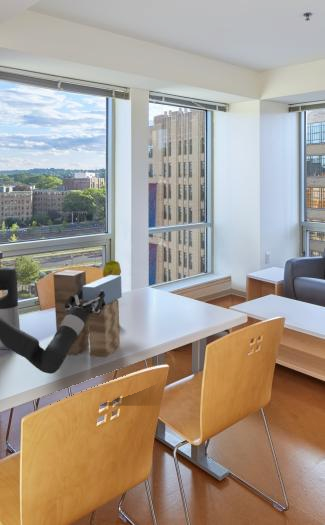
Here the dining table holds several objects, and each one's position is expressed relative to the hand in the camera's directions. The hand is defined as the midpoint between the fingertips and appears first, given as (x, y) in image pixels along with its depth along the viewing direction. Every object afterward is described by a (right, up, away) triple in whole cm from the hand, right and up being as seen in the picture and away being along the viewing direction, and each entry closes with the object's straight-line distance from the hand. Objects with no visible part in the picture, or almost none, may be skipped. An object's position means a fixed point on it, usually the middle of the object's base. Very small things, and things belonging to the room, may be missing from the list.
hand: (93, 291), depth 177 cm
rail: (+3, -5, +9) cm, 11 cm away
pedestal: (-10, -25, +14) cm, 30 cm away
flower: (+3, -19, +49) cm, 52 cm away
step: (+3, -25, +13) cm, 28 cm away
